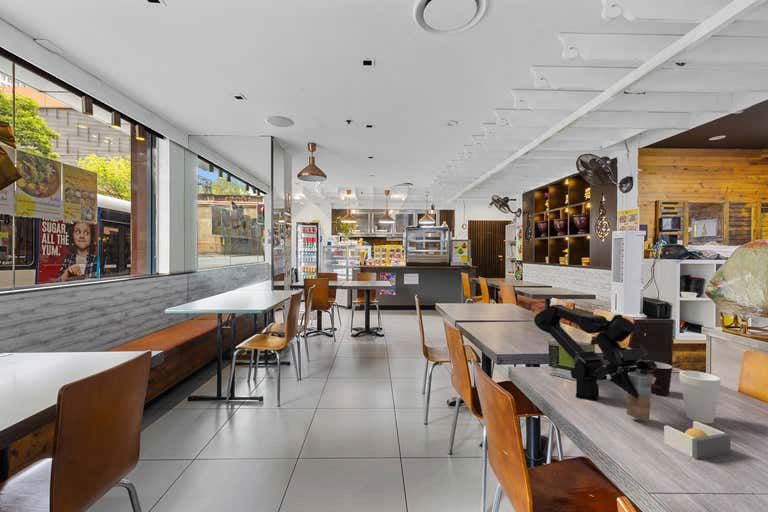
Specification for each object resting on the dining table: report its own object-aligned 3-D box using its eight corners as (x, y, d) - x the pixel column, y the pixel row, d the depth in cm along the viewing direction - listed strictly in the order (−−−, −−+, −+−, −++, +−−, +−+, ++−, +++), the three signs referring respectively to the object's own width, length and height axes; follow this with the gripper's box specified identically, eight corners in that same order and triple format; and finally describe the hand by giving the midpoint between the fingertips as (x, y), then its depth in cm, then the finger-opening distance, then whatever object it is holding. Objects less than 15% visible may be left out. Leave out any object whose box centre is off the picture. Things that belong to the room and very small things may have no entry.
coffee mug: (679, 397, 128) (678, 368, 128) (653, 397, 128) (653, 368, 128) (655, 385, 139) (654, 359, 139) (632, 385, 139) (631, 359, 139)
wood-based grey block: (626, 413, 111) (628, 373, 111) (637, 412, 112) (639, 372, 111) (638, 420, 107) (640, 378, 107) (649, 418, 108) (651, 377, 108)
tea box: (596, 378, 148) (595, 341, 148) (586, 383, 142) (586, 345, 142) (558, 369, 160) (557, 335, 160) (547, 374, 153) (547, 339, 153)
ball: (688, 433, 92) (682, 448, 94) (714, 442, 89) (707, 458, 91) (687, 420, 96) (680, 435, 98) (711, 429, 93) (704, 444, 95)
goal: (664, 443, 96) (664, 425, 96) (696, 437, 99) (695, 421, 99) (696, 459, 89) (696, 440, 89) (730, 453, 91) (730, 434, 91)
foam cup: (711, 428, 105) (710, 382, 105) (673, 415, 113) (673, 373, 113) (726, 421, 109) (726, 377, 109) (689, 409, 117) (688, 369, 117)
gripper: (602, 337, 111) (635, 387, 100) (651, 334, 115) (688, 381, 105) (582, 356, 118) (611, 404, 108) (629, 352, 123) (661, 398, 112)
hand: (643, 396), depth 108 cm, fingers closed on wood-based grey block, 4 cm apart
